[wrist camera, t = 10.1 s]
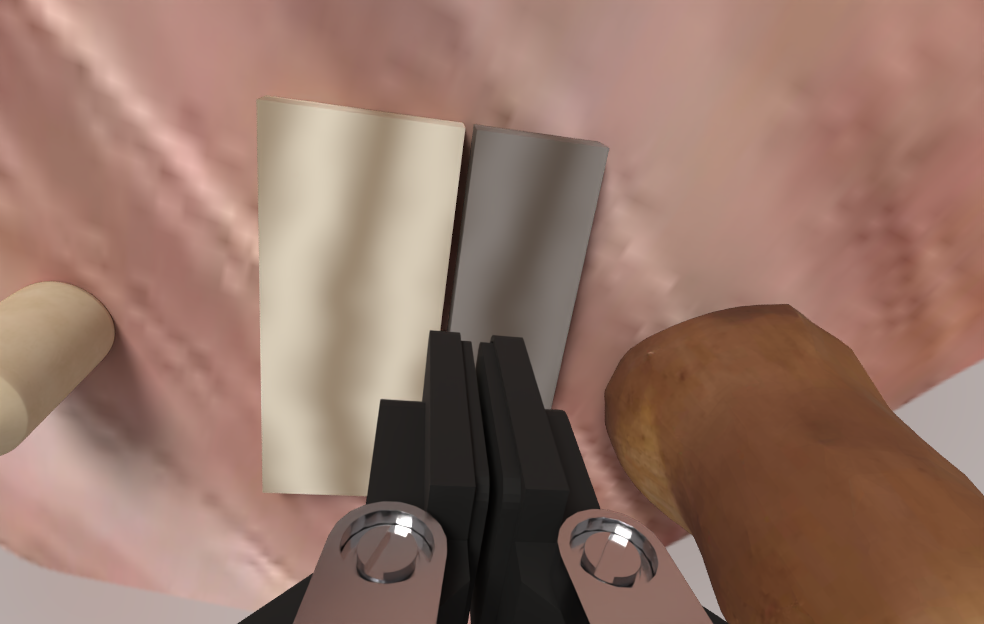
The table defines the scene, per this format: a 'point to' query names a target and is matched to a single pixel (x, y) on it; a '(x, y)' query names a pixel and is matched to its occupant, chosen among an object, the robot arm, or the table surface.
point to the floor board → (524, 241)
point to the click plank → (346, 279)
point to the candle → (46, 352)
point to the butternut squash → (795, 475)
